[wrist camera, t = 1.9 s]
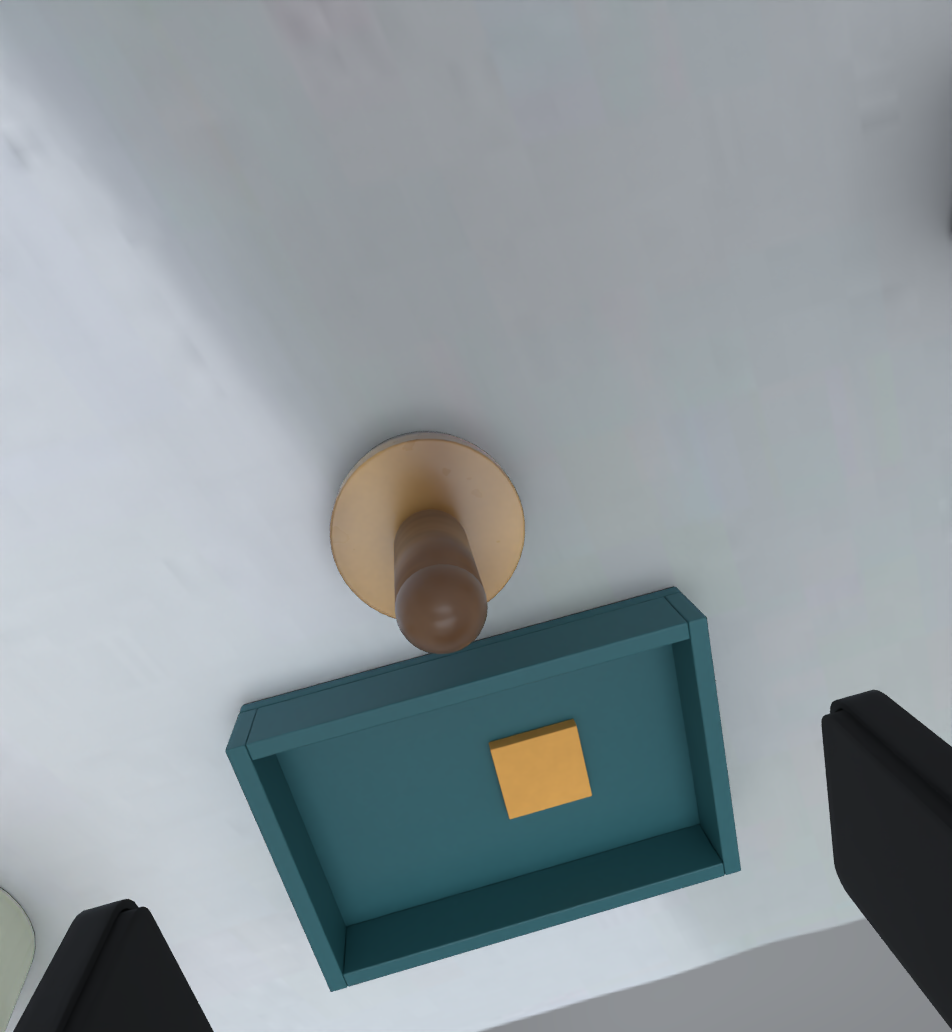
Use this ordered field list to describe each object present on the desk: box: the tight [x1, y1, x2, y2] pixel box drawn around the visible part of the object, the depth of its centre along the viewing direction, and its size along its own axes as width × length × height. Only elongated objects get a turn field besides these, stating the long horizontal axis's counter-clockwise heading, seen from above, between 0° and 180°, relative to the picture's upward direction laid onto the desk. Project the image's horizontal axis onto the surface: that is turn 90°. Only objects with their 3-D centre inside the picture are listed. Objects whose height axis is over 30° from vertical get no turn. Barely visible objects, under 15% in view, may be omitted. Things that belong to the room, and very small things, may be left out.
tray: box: [226, 587, 741, 992], centre depth 30 cm, size 20×14×3 cm
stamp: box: [330, 431, 525, 654], centre depth 22 cm, size 7×7×10 cm
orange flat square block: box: [489, 719, 592, 819], centre depth 30 cm, size 4×4×1 cm
